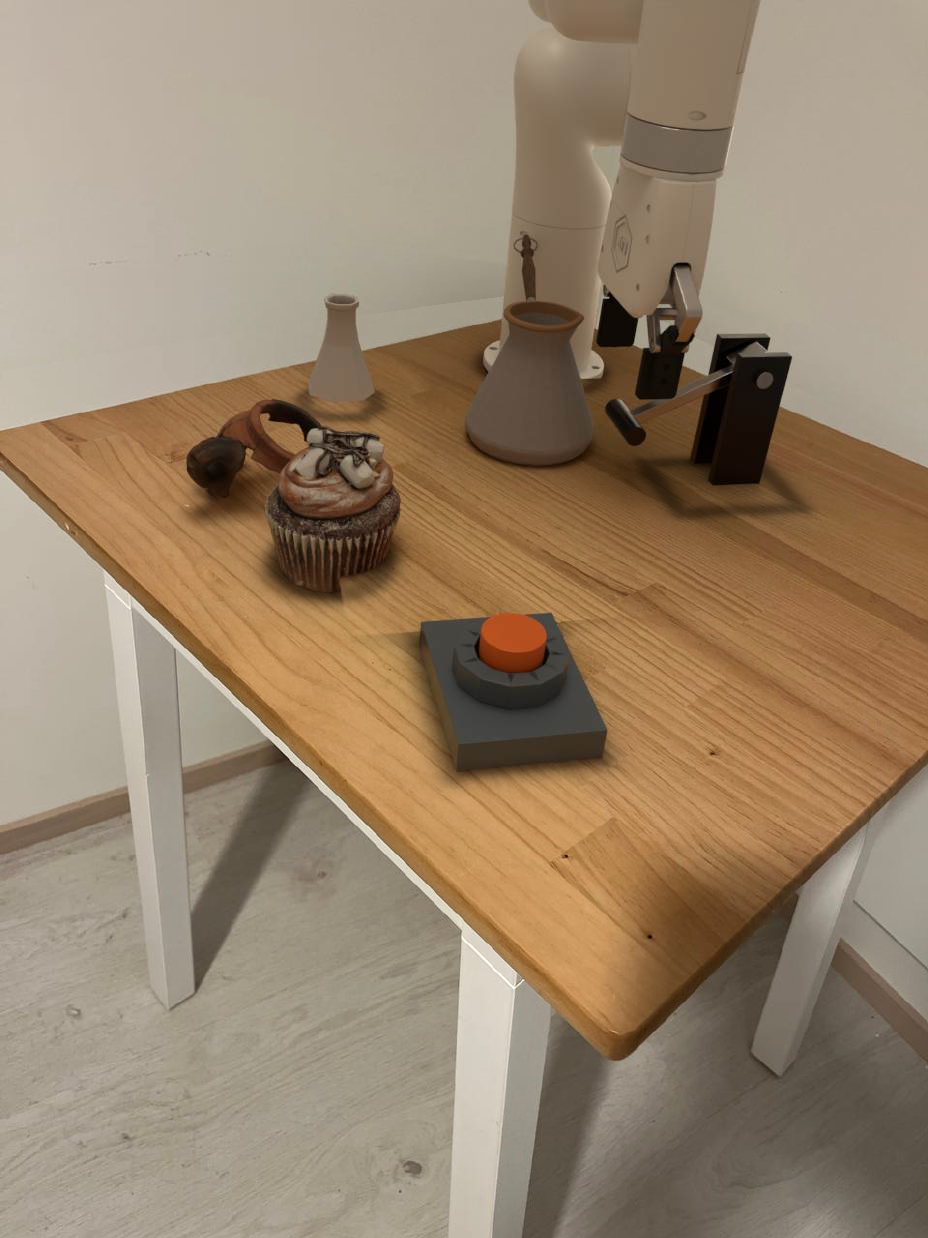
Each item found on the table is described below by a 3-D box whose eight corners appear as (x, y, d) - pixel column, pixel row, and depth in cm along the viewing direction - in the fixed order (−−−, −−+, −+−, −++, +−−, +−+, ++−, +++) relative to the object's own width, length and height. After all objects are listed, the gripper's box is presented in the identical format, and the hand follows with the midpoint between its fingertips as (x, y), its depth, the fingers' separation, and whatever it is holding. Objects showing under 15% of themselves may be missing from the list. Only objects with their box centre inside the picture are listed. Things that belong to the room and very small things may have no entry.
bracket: (681, 513, 89) (713, 368, 82) (644, 463, 96) (670, 324, 89) (801, 507, 92) (842, 365, 84) (756, 458, 99) (791, 323, 91)
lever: (630, 453, 87) (622, 428, 85) (609, 423, 91) (601, 399, 90) (782, 384, 86) (777, 359, 85) (753, 358, 90) (748, 333, 89)
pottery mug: (254, 454, 93) (299, 384, 89) (315, 535, 91) (364, 468, 87) (142, 466, 84) (185, 389, 79) (207, 557, 82) (256, 483, 77)
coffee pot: (599, 486, 92) (626, 316, 83) (465, 481, 91) (479, 308, 82) (566, 385, 109) (587, 235, 101) (454, 380, 108) (465, 228, 100)
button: (472, 637, 67) (474, 614, 66) (533, 633, 68) (537, 610, 67) (487, 677, 64) (489, 654, 63) (551, 672, 65) (554, 649, 64)
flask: (313, 382, 106) (312, 281, 100) (385, 391, 105) (388, 290, 99) (294, 413, 100) (291, 307, 94) (370, 422, 99) (372, 317, 93)
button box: (419, 647, 72) (422, 598, 69) (547, 638, 74) (554, 590, 71) (455, 772, 62) (460, 720, 60) (602, 757, 64) (612, 706, 62)
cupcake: (275, 526, 83) (271, 406, 77) (400, 532, 84) (405, 414, 78) (257, 596, 75) (251, 468, 70) (396, 603, 76) (401, 477, 70)
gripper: (588, 113, 82) (559, 328, 92) (669, 179, 69) (624, 421, 79) (680, 116, 83) (641, 327, 94) (776, 181, 70) (718, 419, 81)
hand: (633, 370), depth 86 cm, fingers open, 9 cm apart
